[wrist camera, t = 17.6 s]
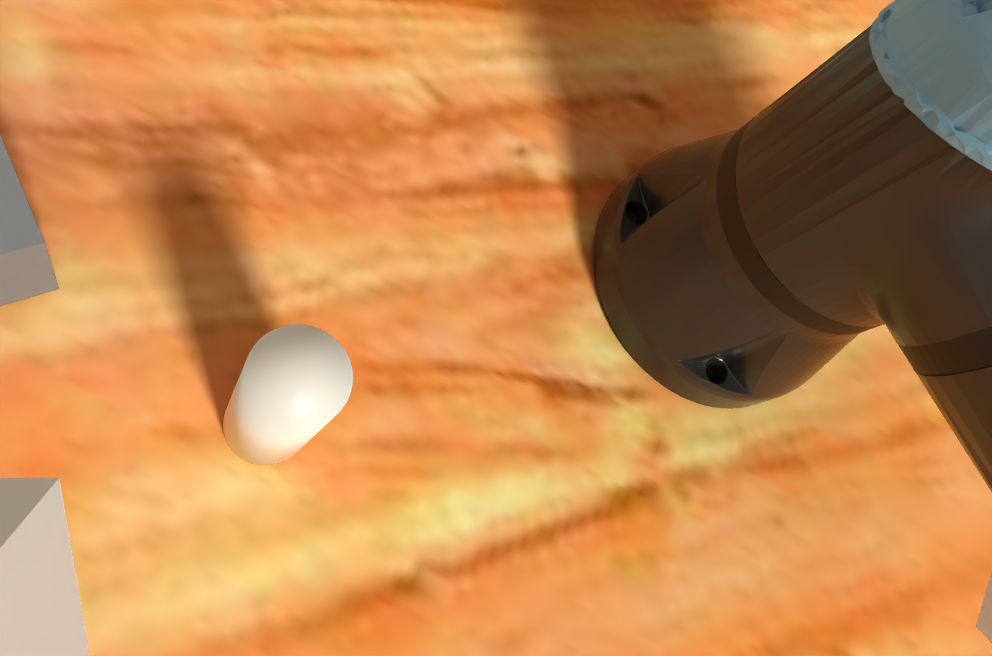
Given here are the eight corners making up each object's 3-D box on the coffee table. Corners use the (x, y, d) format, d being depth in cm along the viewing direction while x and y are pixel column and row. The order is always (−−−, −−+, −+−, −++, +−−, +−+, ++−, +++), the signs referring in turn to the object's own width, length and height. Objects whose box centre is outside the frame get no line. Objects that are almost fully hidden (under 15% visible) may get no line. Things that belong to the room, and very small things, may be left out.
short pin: (288, 371, 36) (327, 310, 28) (321, 445, 35) (369, 403, 28) (209, 401, 34) (226, 345, 26) (242, 479, 34) (269, 446, 26)
